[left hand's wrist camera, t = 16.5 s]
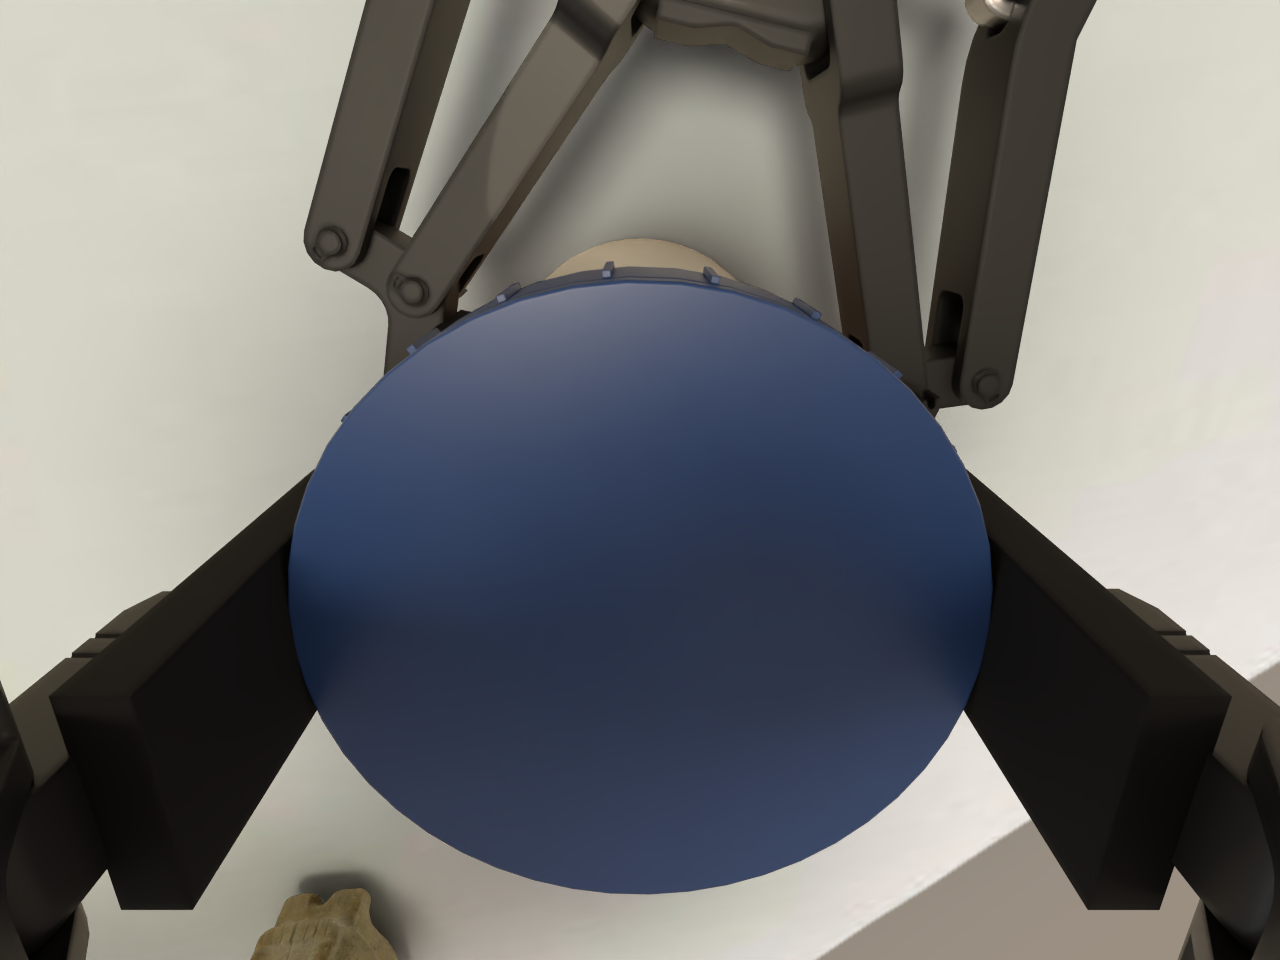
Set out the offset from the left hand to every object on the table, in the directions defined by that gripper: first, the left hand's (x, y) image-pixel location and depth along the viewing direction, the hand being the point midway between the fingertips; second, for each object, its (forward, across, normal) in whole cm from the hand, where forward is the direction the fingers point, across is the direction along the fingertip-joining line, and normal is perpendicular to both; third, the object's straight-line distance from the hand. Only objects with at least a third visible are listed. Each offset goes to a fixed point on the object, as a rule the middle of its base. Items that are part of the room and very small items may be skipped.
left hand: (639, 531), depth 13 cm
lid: (-3, 0, 0) cm, 3 cm away
